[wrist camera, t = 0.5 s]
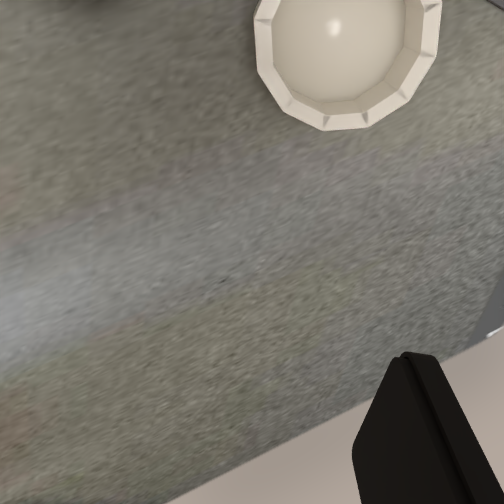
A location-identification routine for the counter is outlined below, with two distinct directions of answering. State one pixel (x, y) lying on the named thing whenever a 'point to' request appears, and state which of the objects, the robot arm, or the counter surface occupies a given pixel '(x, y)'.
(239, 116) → the counter surface
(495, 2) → the mat
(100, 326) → the counter surface
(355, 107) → the bowl
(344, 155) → the counter surface
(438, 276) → the counter surface
